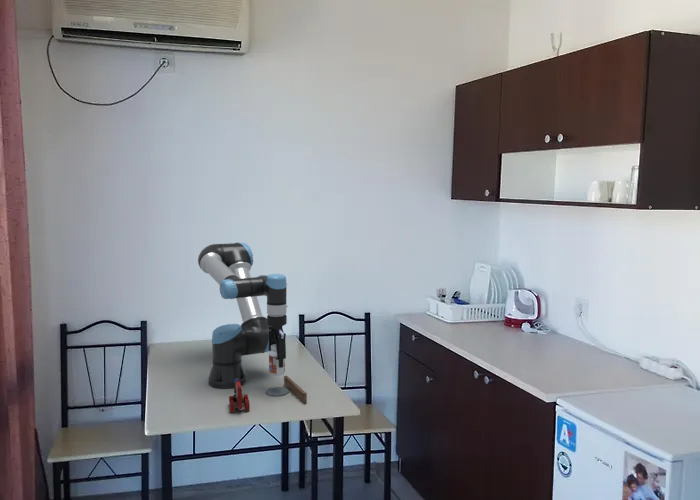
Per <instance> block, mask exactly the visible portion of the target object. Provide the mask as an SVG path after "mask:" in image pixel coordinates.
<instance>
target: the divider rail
mask: <svg viewBox="0 0 700 500" xmlns="http://www.w3.org/2000/svg"><path fill="white" fill-rule="evenodd" d="M283 385H284V386H283V387H285V388H287V389H289V393H291V394H292V395H294V397H296V398H297V400H299V401H300V402H301V403H302V404H303V405H306V404H308V403H307V402H308V398H307V397H308V395H307V391H305V390H304V389H303V388H301V387H300V386H299V385H298V384H297V383H296V381H295V382H294V381H293V380H292V379H291V377H289V376H288V375H283Z"/></svg>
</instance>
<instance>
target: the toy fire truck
mask: <svg viewBox="0 0 700 500" xmlns="http://www.w3.org/2000/svg"><path fill="white" fill-rule="evenodd" d="M234 383H235V387H234V389H233V393H234V394H233V395H230V396H228V403H229V404H228V405H229V412H230V413H235V411H236V408H237V410H238V411H239V410H243V408H244V410H245V411H244V412H248V411H250V408H251V407H250V406H251V405H250V399H249V395H248V394H247V393H246V394H244V393H243V388H242V385H241V383H240V380H239V379H235V381H234Z"/></svg>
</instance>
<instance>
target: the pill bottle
mask: <svg viewBox="0 0 700 500" xmlns="http://www.w3.org/2000/svg"><path fill="white" fill-rule="evenodd" d="M276 358H277V349H276V344H273V345H271V351H269V352H268V372H269V374H270V375H271V376H277V367H276ZM285 372H286V358H285V359H284V374H285Z"/></svg>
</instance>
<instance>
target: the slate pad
mask: <svg viewBox="0 0 700 500" xmlns="http://www.w3.org/2000/svg"><path fill="white" fill-rule="evenodd" d="M289 393H290V391H289V389H287V388H286V387H285V386H272V387H269V388H267V389H266V390H265V394H266V395H268V396H271V397H283V396H286V395H288V394H289Z"/></svg>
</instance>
